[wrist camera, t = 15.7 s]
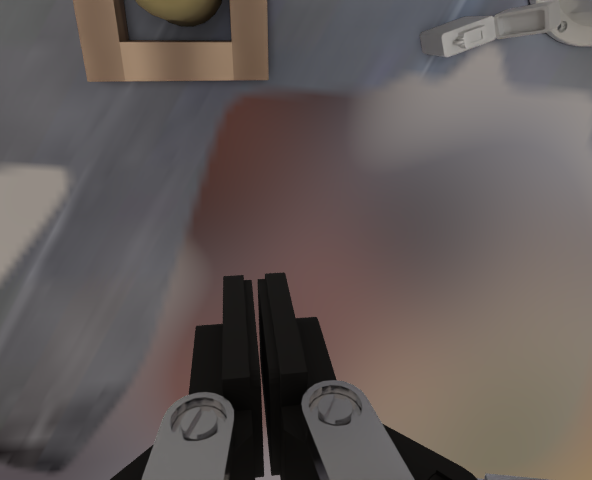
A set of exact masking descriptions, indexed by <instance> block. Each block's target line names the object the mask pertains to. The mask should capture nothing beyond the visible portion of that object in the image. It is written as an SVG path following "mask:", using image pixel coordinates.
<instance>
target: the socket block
mask: <svg viewBox="0 0 592 480" xmlns="http://www.w3.org/2000/svg"><path fill="white" fill-rule="evenodd" d="M229 3H230V22H231V41H195V40H129V36H128V29H127V21H126V14H125V7H124V0H73V4H74V9H75V15H76V20H77V26H78V31H79V37H80V42H81V48H82V53H83V59H84V64H85V69H86V75H87V80H88V82H103V81H214V80H269V79H268V27H267V0H229Z"/></svg>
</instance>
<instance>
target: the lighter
mask: <svg viewBox="0 0 592 480" xmlns="http://www.w3.org/2000/svg"><path fill="white" fill-rule="evenodd" d="M560 24H561V19H560V2H559V1H558V0H553V1H548V2H542V3H537V4H532V5H527V6H522V7H516V8H511V9H506V10H504V11H502V12H500V13H498V14H496V15H495V17H492V16H466V17H462V18H459V19H456V20H454V21H451V22H448V23H446V24H443V25H440V26H438V27H435V28H432V29H429V30H427V31H424V32H421V34H420V40H421V46H422V51H423V53H424V54H429V55H435V56H441V57H450V56H452V55H455V54H458V53H461V52H463V51H466V50H469V49H471V48H474V47H477V46H480V45H482V44H485V43H488V42H490V41H493V40H495V38H497V39H503V38H510V37H518V36H525V35H532V34H540V33H547V32H549V31H551V30H553V29H554V28H556V27H558V26H559V25H560Z"/></svg>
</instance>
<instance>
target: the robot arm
mask: <svg viewBox="0 0 592 480" xmlns="http://www.w3.org/2000/svg"><path fill="white" fill-rule="evenodd" d="M548 1H553V0H530V4H531V5H532V4H537V3H542V2H548ZM558 1H559V2H560V19H561V24H560V25H559V26H558V27H556V28H554V29H553V30H551V31H549V32H547V34H548V35H549V36H551V37H552V38H554V39H555V40H556V41H559V42H561V43H564V44H567V45H573V46H592V0H558ZM223 280H224V281H223V324H216V325H202V326H196V331H195V340H194V349H193V359H192V369H191V379H190V388H189V395H187V396H184V397H183V398H181V399H180V400H178V401H176V402H175V403H174V404H173V405H172V406H171V407H170V408H169V409H168V410H167V412H166V414H165V415H164V418H163V420H162V423H161V426H160V428H159V431H158V434H157V437H156V440H155V443H154V445H152V446H151V447H150V448H149V449H147V450H146V451H145V452H144V453H142V454H141V455H140V456H139V457H137V458H136V459H135V460H134V461H133V462H131V463H130V464H129V465H128V466H126V467H125V468H124V469H123V470H121V471H120V472H119V473H118V474H116V475H115V476H114V477H113V478H111V479H110V480H255V478H256V477H264V461H263V431H262V404H261V403H262V402H261V379H260V365H259V355H258V345H257V333H256V322H255V312H254V302H253V291H252V281H251V280H244V278H243V275H238V276H224V277H223ZM258 306H259V335H260V361H261V374H262V384H263V395H264V404H265V415H266V426H267V436H268V446H269V456H270V466H271V475H272V476H273V475H280V477H281V480H547V479H537V478H527V477H516V476H506V475H496V474H486V475H485V478H484V479H478V478H476V477H475V476H474V475H473V474H472V473H470V472H469V471H467V470H466V469H464V468H463V467H461V466H459V465H458V464H456V463H454V462H452V461H450V460H448V459H446V458H444V457H443V456H441V455H439V454H437V453H435V452H434V451H432V450H430V449H428V448H426V447H424V446H423V445H421V444H419V443H417V442H415V441H413V440H411V439H410V438H408V437H406V436H404V435H402V434H400V433H398V432H397V431H395V430H393V429H391V428H389V427H387V426H385V425H384V424H382V423H381V421H380V419H379V418H378V416H377V415H376V412H375V411H374V409H373V407H372V406H371V404H370V402H369V400H368V399H367V397H366V396H365V395H364V393H363V392H362V391H361V390H360V389H358V388H357V387H355V386H354V385H351V384H349V383H346V382H344V381H337V380H336V377H335V374H334V371H333V367H332V364H331V361H330V357H329V354H328V351H327V348H326V344H325V341H324V338H323V334H322V331H321V328H320V325H319V321H318V319H317V317H309V318H295V314H294V310H293V306H292V301H291V297H290V292H289V288H288V284H287V279H286V275H285V273H270V274H265V279H258Z"/></svg>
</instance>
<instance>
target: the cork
mask: <svg viewBox="0 0 592 480" xmlns="http://www.w3.org/2000/svg"><path fill="white" fill-rule="evenodd" d="M135 1H136V2H137V3H138V5H139V6H141V7H142V8H143V9H145V10H146V11H147V12H149V13H150V14H152V15H154V16H157V17H159V18H162V19H165V20H167V21H168V22H170V23H173V24H176V25H178V26H186V27H194V26H197V25H199V24H202V23H205V22H206V21H208V20H209V19H210V18H211V17H212V16H214V15H215V13H216V11H217V10H218V8H219V6H220V5H221V3H222V0H135Z"/></svg>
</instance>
